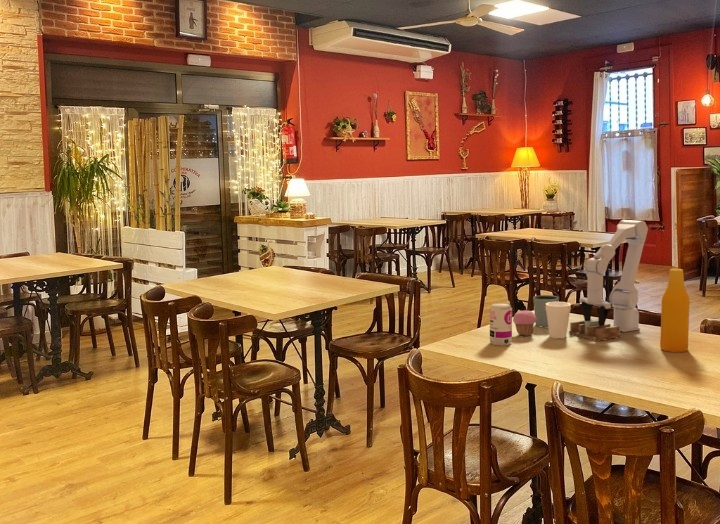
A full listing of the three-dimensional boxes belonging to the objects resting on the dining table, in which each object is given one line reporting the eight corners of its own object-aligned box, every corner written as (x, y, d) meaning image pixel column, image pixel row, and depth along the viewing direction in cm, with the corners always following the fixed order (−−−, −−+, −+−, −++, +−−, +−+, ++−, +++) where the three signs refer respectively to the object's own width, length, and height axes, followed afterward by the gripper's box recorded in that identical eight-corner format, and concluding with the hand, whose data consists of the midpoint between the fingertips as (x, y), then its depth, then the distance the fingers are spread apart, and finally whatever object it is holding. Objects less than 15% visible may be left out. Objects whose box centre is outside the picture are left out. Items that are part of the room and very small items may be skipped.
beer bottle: (655, 350, 259) (658, 270, 255) (665, 344, 265) (668, 266, 261) (682, 354, 252) (685, 272, 248) (691, 348, 259) (694, 268, 255)
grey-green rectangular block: (600, 331, 285) (600, 318, 284) (604, 332, 282) (604, 319, 282) (584, 333, 281) (584, 321, 280) (589, 335, 279) (589, 322, 278)
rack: (592, 330, 291) (592, 319, 291) (620, 337, 278) (620, 326, 277) (568, 333, 286) (569, 322, 286) (596, 341, 273) (596, 330, 272)
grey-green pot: (560, 327, 297) (561, 299, 295) (536, 328, 297) (536, 299, 295) (554, 322, 307) (554, 294, 305) (530, 322, 307) (530, 295, 305)
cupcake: (539, 334, 286) (540, 309, 285) (529, 338, 280) (529, 313, 278) (519, 331, 292) (519, 307, 291) (509, 335, 286) (509, 310, 284)
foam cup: (568, 333, 286) (568, 301, 284) (572, 339, 277) (573, 306, 275) (543, 334, 287) (543, 301, 285) (547, 339, 278) (547, 306, 276)
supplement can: (515, 342, 274) (516, 304, 272) (504, 347, 268) (504, 307, 266) (497, 339, 279) (497, 301, 277) (485, 344, 274) (485, 305, 272)
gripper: (574, 287, 284) (573, 321, 286) (601, 293, 271) (600, 328, 273) (587, 285, 287) (587, 319, 289) (615, 291, 274) (614, 326, 276)
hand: (594, 323), depth 281 cm, fingers open, 7 cm apart
